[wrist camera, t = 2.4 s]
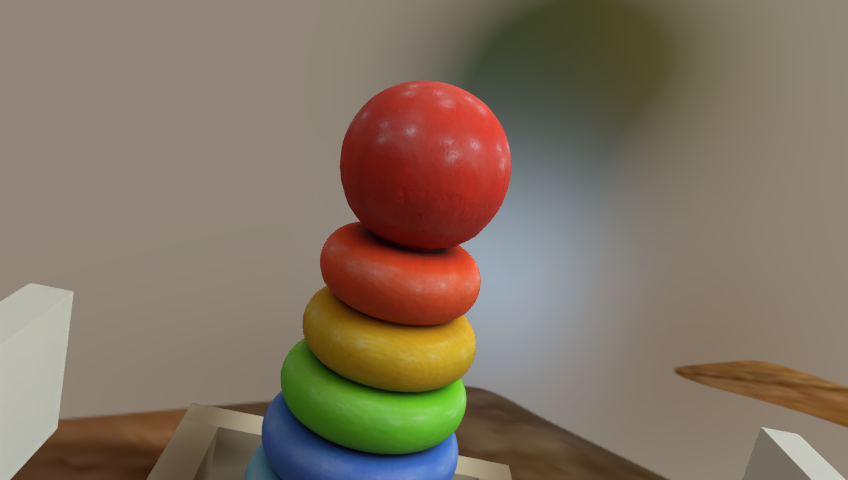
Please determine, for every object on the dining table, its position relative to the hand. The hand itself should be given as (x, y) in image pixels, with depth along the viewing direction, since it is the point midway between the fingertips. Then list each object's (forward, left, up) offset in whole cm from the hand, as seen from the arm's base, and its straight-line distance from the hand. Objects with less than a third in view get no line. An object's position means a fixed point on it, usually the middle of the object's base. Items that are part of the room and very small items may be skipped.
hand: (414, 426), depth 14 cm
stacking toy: (0, +10, -13) cm, 16 cm away
